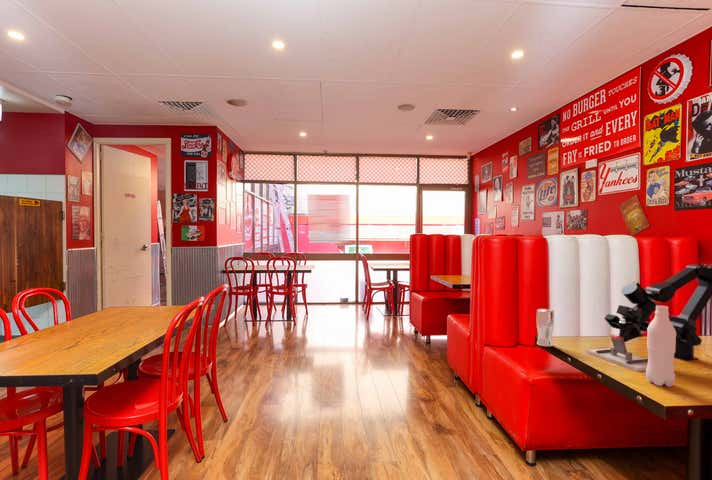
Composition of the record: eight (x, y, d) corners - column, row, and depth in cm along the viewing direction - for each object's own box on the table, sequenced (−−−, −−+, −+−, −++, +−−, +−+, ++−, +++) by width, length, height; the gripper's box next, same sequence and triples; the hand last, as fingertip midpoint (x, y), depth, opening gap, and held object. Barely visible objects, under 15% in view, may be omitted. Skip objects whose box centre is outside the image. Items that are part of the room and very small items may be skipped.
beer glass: (549, 342, 158) (550, 308, 158) (556, 347, 151) (557, 312, 151) (533, 341, 159) (533, 308, 159) (539, 346, 152) (540, 311, 152)
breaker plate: (609, 350, 148) (609, 341, 148) (662, 368, 129) (662, 358, 128) (586, 352, 145) (586, 343, 145) (636, 371, 125) (636, 360, 125)
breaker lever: (618, 350, 139) (612, 333, 138) (628, 354, 135) (623, 336, 134) (615, 352, 138) (609, 335, 138) (625, 356, 134) (619, 338, 134)
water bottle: (639, 379, 118) (641, 304, 118) (659, 379, 119) (661, 304, 118) (660, 388, 111) (662, 308, 111) (681, 388, 112) (683, 308, 111)
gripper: (608, 294, 146) (586, 322, 144) (656, 302, 128) (632, 335, 126) (622, 312, 148) (601, 340, 146) (672, 323, 130) (649, 355, 128)
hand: (619, 342), depth 136 cm, fingers closed, pressing on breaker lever
